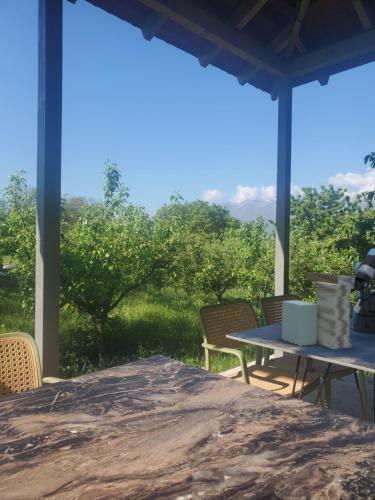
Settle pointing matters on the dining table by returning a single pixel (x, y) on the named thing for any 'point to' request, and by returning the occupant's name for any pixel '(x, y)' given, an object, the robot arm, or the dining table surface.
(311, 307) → the block
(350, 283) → the brown grey bar
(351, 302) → the hammer
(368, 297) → the robot arm
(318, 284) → the tall stand
